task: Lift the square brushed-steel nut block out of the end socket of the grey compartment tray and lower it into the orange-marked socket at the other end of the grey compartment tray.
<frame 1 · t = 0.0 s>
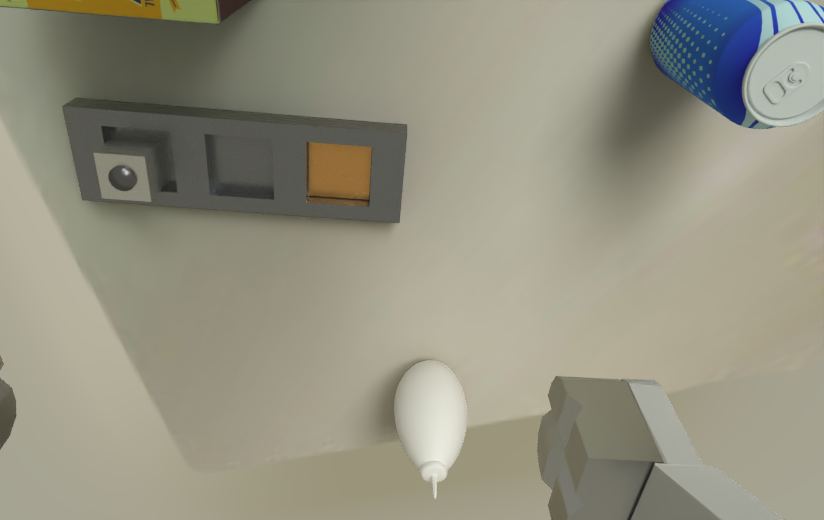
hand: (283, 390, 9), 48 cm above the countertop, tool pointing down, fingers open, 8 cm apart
grey compartment tray: (246, 157, 58), on the countertop
beer can: (693, 28, 53), on the countertop
sauce bottle: (428, 368, 72), on the countertop
nut block: (146, 154, 57), point 1 cm above the countertop, touching grey compartment tray
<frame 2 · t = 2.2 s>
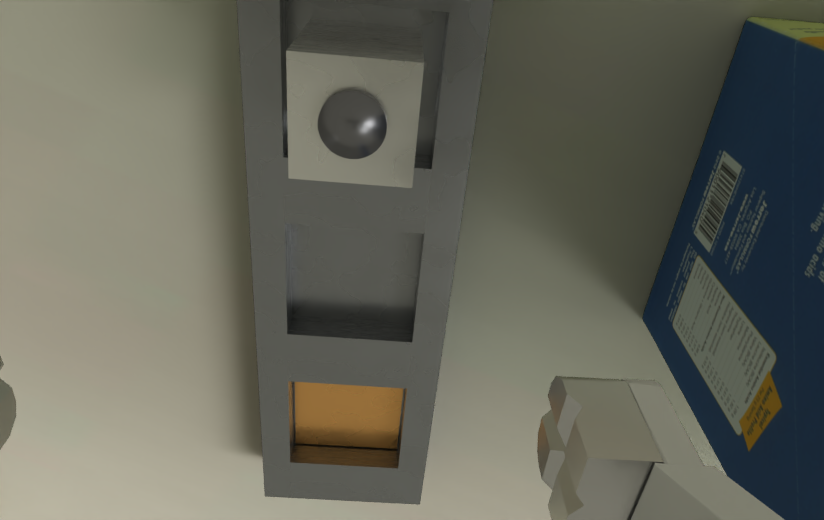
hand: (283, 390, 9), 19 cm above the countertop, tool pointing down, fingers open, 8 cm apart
grey compartment tray: (356, 258, 30), on the countertop
protein box: (788, 194, 28), on the countertop
nut block: (363, 78, 24), point 1 cm above the countertop, touching grey compartment tray
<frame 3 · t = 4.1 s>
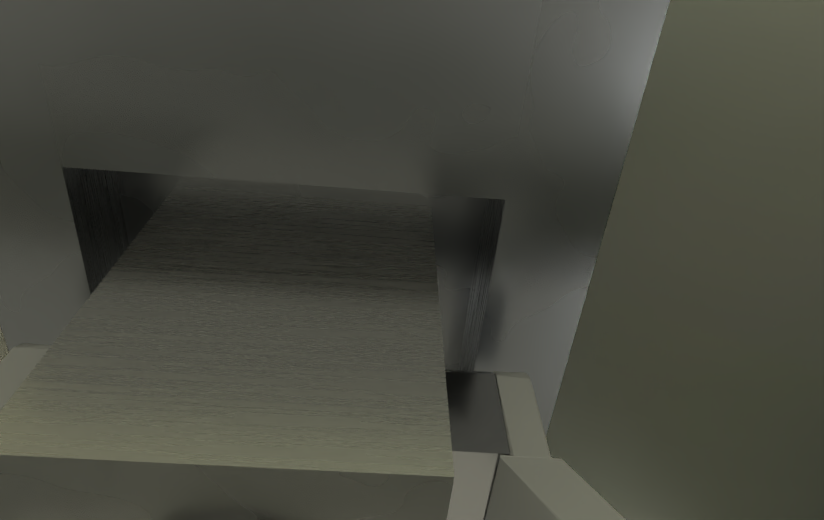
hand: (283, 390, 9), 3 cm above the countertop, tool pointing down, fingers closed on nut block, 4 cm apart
nut block: (304, 300, 11), point 1 cm above the countertop, touching gripper, grey compartment tray
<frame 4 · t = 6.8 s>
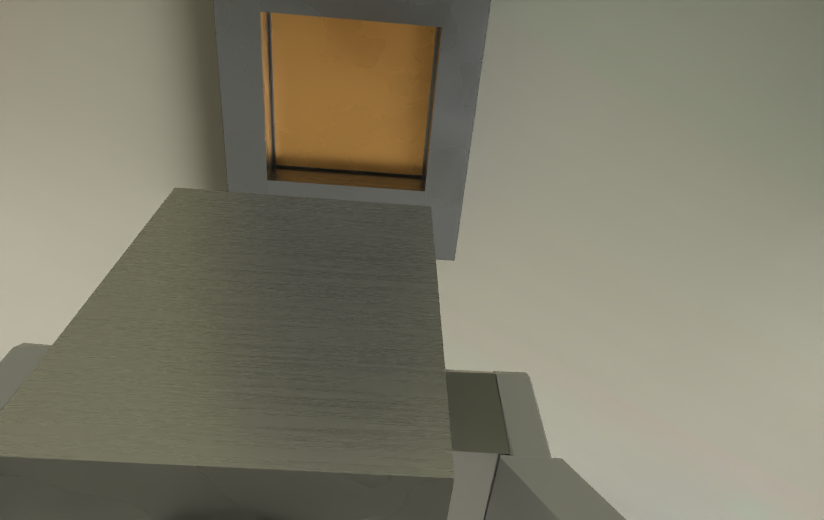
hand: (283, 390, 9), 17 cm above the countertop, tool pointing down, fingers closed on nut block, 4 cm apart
nut block: (304, 301, 11), point 15 cm above the countertop, touching gripper
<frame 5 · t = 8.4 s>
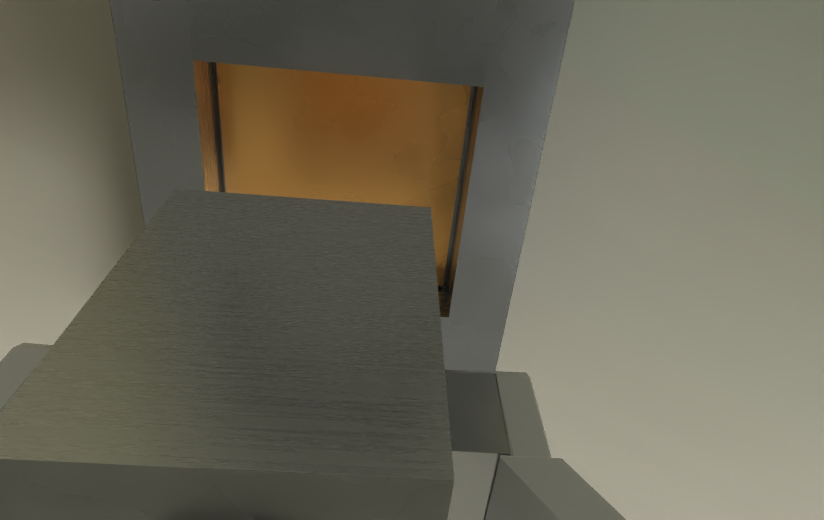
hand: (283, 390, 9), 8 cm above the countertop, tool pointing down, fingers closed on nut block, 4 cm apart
nut block: (304, 302, 11), point 6 cm above the countertop, touching gripper
when the fingers open (4 cm above the countertop, at t = 9.6 s): nut block stays where it is, resting on grey compartment tray.
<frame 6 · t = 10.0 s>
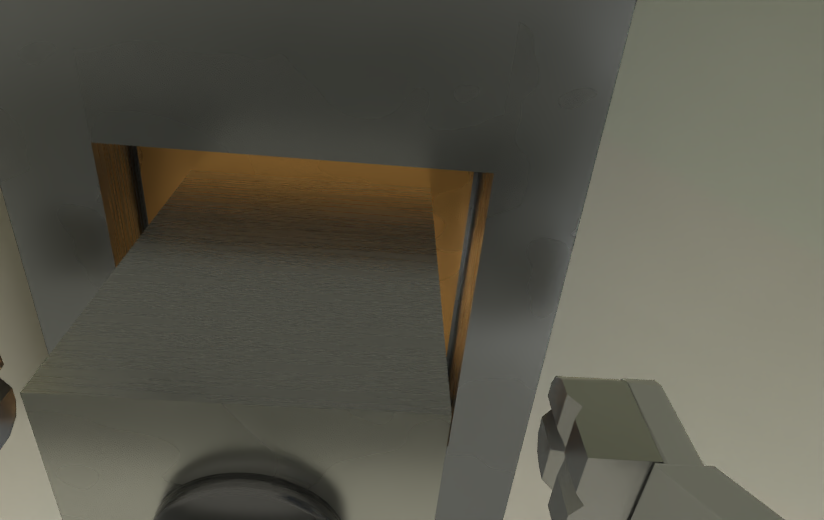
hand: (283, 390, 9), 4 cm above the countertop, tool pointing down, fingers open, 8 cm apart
nut block: (311, 279, 12), point 1 cm above the countertop, touching grey compartment tray
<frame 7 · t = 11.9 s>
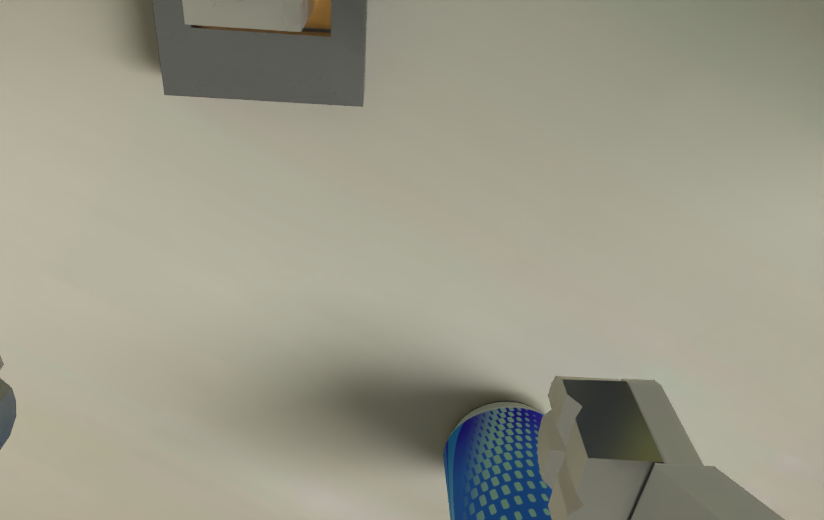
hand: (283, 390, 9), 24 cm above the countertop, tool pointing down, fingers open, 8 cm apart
beer can: (499, 434, 44), on the countertop
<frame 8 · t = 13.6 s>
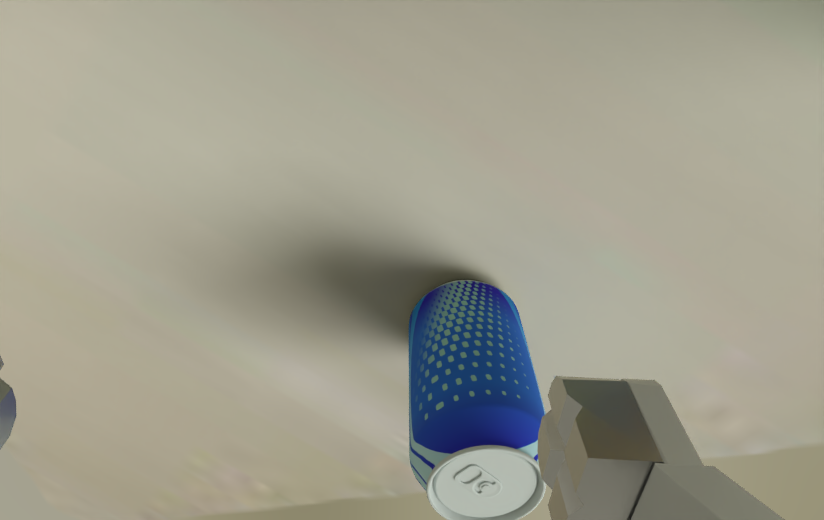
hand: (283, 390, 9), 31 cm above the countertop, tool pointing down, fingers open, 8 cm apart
beer can: (462, 315, 47), on the countertop
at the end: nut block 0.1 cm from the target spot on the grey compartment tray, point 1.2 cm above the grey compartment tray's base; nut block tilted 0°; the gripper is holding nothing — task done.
